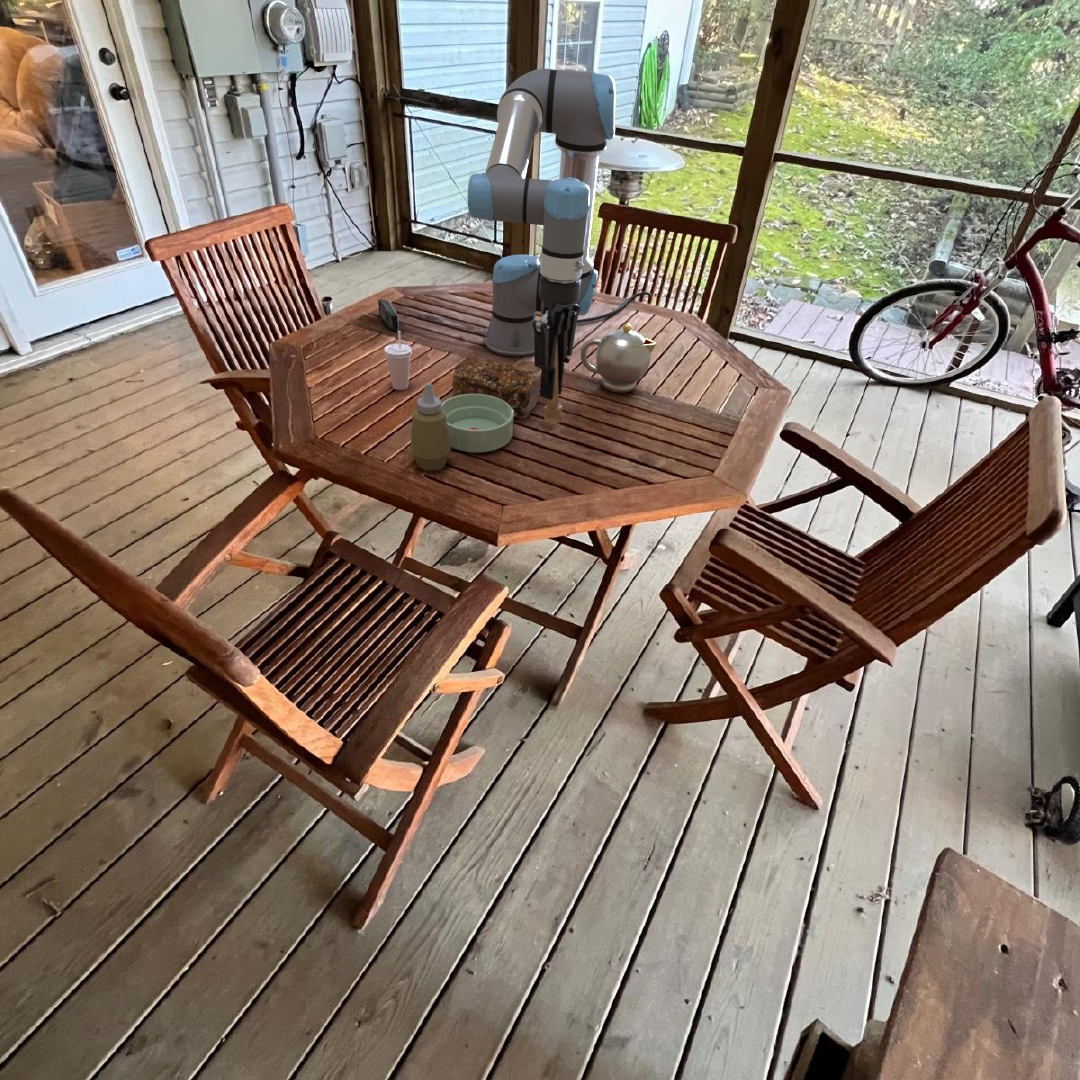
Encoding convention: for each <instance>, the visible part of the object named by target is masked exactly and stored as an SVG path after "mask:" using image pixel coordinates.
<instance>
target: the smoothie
mask: <svg viewBox="0 0 1080 1080" xmlns="http://www.w3.org/2000/svg"><path fill="white" fill-rule="evenodd" d="M400 331H401V330H400ZM400 331H397V339H398V343H391V344H389V345H386V346H385V347H384V348H383V350H384V355H385V356H386V357H385V358H386V362H387V366H388V371H389V375H390V380H391V386H392V388H393V389H394V390H396V391H405V390H408V388H409V381H410V368H411V355H413V354H412V353H413V352H412V351H413V349H412V347H411V346H410V345H407V344H406V343H402V337H401V336H402V335H401V333H400Z"/></svg>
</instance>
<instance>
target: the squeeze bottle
mask: <svg viewBox="0 0 1080 1080" xmlns="http://www.w3.org/2000/svg"><path fill="white" fill-rule="evenodd" d="M441 404H442V401H441V399H440V398H439V397H437V396H435V392H434V388H433V385H432V383H431V382H425V384H424V387H423V393H422V396H421V397H419V398H418V399H417V400H416V408H415V409H414V410H413V412H412V415H411V416H412V419H411V434H410V435H411V436H410V451H411V454H412V456H413V458H414V461H415V463H416V465H417V467H419V469H422V470H424V471H428V472H429V471H430V472H432V471H439V470H441V469H443V468H444V467H445V466H446V464H447V461H448V458H449V455H450V453H451V450H452V447H451V446H450V439H449V431H448V424H447V416H446V412H445V410H443V409H442V408H441Z"/></svg>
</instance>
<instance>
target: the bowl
mask: <svg viewBox="0 0 1080 1080" xmlns="http://www.w3.org/2000/svg"><path fill="white" fill-rule="evenodd" d="M441 408H442V409H443V410H445V412H446V416H447V424H448V431H449V439H450V446H451V449H455V450H458V451H461V452H466V453H473V454H474V453H475V454H476V453H487V452H493V451H496V450H499V449H501V448H503V447H505V446H506V445H508V444H509V443H510V441H511V440H512V438H513V433H514V432H513V429H514V417H513V409H512V408H511V406H510V405H509V404H508V403H506V402H505V401H504V400H502V399H499V398H497V397H494V396H490V395H485V394H463V395H458V396H454V397H453V396H451V397H449V398H447V399H446V400H443V401H441ZM470 428H477V429H479V430H473V429H470Z"/></svg>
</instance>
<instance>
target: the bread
mask: <svg viewBox="0 0 1080 1080" xmlns="http://www.w3.org/2000/svg"><path fill="white" fill-rule="evenodd" d="M540 385H541V377H539V376H538V374H537V373H534V372H533V371H531V370H528V369H525V368H523V367H520V366H518V365H516V364H512V363H508V362H502V361H498V360H497V361H496V360H493V359H484V358H480V357H478V356H474V357H467V358H465V359H464V360H461V361H460V362H459V363H458V364H457V365H456V366H455V367H454V372H453V376H452V382H451V386H452V389H451V390H452V394H451V395H452V397H454V396H458V395H463V394H485V395H490V396H494V397H497V398H499V399H502V400H504V401H505V402H506V403H508V404H509V405H510V406H511V408H512V409H513V418H514V417H515V418H516V419H519V420H525V419H527V418H528V417H529V416H530V413H531V411H532V410H533V409H534V408H535V407H536V405H537V403H538V399H539V397H540Z"/></svg>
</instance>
